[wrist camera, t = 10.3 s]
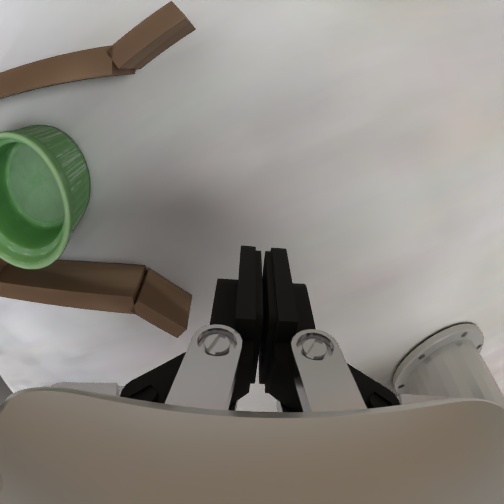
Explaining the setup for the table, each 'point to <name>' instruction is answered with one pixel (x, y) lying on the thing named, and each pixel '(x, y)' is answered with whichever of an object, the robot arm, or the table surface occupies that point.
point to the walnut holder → (94, 273)
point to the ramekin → (39, 194)
